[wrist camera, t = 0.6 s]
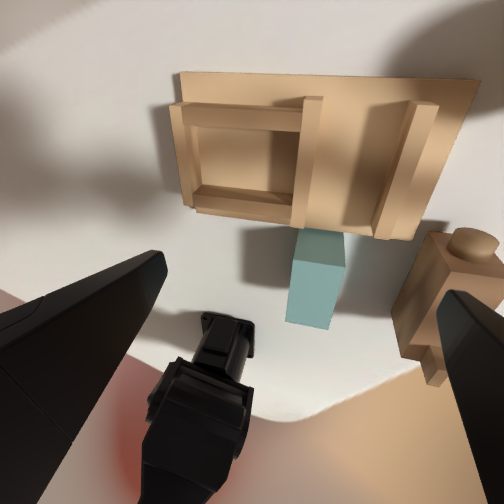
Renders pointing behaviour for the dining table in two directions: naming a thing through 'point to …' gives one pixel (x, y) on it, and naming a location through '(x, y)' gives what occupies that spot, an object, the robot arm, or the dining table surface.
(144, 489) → the robot arm
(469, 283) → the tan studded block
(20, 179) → the dining table surface
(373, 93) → the jig
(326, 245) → the teal block
